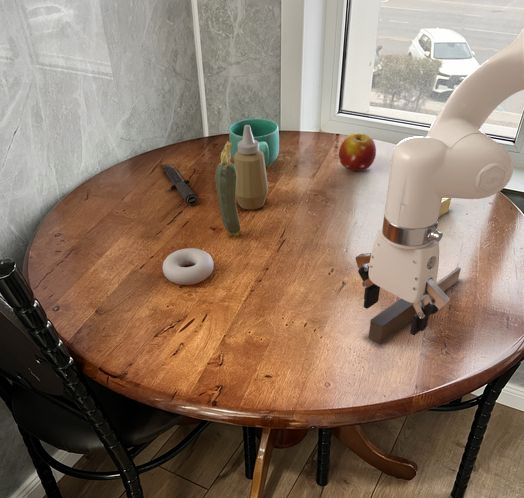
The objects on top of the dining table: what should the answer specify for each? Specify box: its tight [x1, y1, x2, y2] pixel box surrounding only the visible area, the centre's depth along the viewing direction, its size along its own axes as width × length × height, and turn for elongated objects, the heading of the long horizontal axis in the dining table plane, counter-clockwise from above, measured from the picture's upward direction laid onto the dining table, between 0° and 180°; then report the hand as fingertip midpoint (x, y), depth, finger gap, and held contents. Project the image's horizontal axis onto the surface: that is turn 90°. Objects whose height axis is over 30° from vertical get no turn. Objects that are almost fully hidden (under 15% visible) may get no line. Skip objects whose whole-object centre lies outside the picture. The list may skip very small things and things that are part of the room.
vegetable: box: [214, 140, 242, 237], centre depth 109 cm, size 4×4×20 cm
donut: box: [161, 247, 215, 286], centre depth 105 cm, size 10×4×10 cm
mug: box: [228, 118, 280, 167], centre depth 137 cm, size 17×13×10 cm
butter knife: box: [368, 266, 462, 346], centre depth 94 cm, size 2×24×4 cm, turn 132°
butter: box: [438, 198, 452, 218], centre depth 118 cm, size 4×8×4 cm, turn 132°
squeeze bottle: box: [233, 125, 269, 211], centre depth 119 cm, size 8×8×18 cm
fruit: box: [338, 132, 377, 172], centre depth 135 cm, size 10×9×8 cm
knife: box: [163, 165, 198, 206], centre depth 134 cm, size 24×5×3 cm, turn 17°
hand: (393, 317), depth 90 cm, fingers open, 9 cm apart
